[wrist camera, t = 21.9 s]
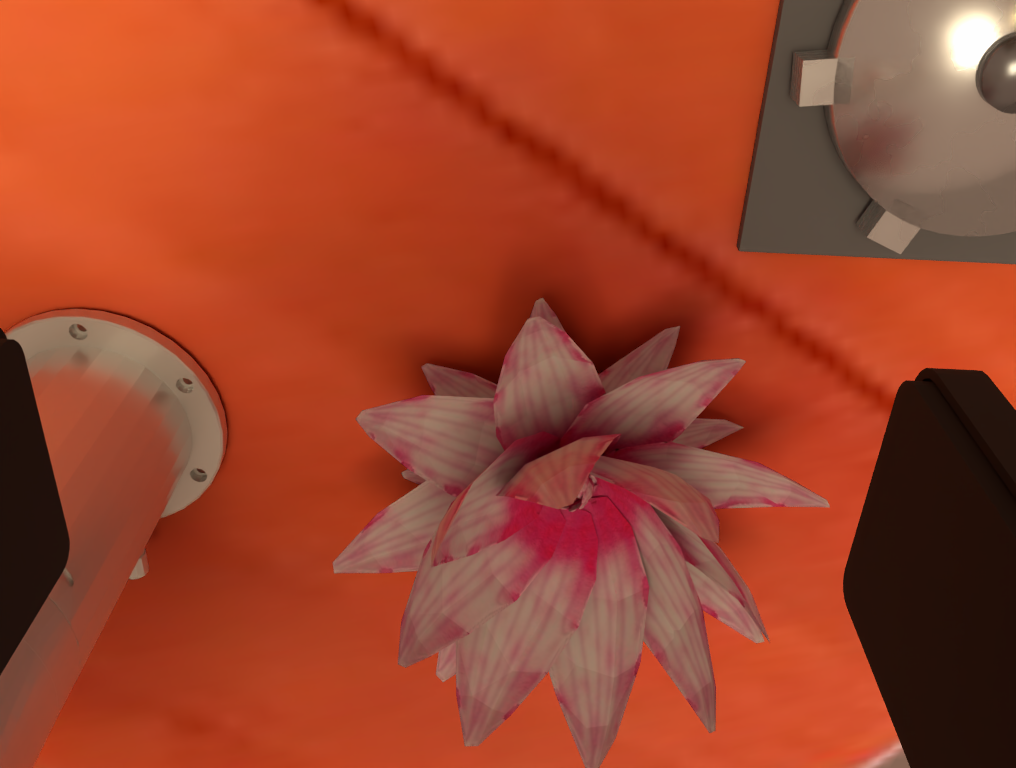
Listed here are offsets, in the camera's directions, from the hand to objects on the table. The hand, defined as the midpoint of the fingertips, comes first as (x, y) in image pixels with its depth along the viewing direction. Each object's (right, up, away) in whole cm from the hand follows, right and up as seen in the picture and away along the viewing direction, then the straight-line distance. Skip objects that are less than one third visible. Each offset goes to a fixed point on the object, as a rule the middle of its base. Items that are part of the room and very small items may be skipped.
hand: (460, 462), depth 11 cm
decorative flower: (+4, -2, +40) cm, 40 cm away
